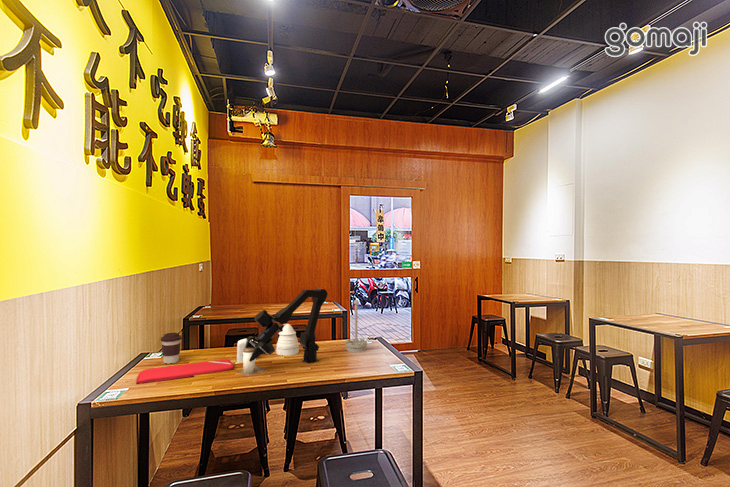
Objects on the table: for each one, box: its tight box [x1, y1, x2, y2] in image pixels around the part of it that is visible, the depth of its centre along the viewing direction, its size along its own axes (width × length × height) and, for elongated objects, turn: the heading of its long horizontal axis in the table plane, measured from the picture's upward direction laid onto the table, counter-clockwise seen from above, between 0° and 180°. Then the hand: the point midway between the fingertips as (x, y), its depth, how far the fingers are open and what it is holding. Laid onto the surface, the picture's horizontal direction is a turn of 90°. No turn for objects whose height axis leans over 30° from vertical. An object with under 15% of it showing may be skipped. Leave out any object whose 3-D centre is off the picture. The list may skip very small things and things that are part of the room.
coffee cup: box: [160, 332, 183, 365], centre depth 200 cm, size 10×10×15 cm
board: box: [235, 365, 269, 377], centre depth 182 cm, size 12×10×1 cm
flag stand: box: [344, 299, 368, 353], centre depth 225 cm, size 13×13×30 cm
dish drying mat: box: [135, 358, 234, 385], centre depth 181 cm, size 16×41×4 cm, turn 116°
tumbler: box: [242, 347, 256, 374], centre depth 181 cm, size 6×6×11 cm
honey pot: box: [275, 323, 300, 357], centre depth 219 cm, size 13×13×18 cm
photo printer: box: [236, 337, 257, 363], centre depth 200 cm, size 10×4×12 cm, turn 123°
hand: (246, 359), depth 180 cm, fingers open, 9 cm apart
